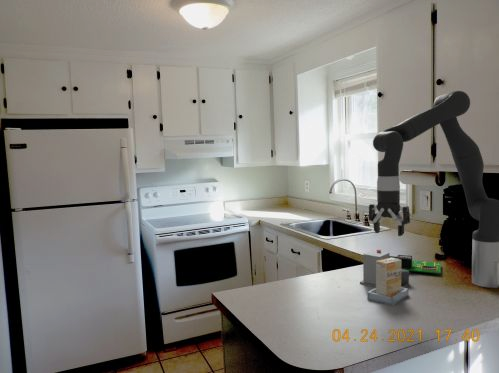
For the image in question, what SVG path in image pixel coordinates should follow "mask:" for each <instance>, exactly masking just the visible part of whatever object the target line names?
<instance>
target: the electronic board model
mask: <svg viewBox="0 0 499 373" xmlns="http://www.w3.org/2000/svg"><path fill="white" fill-rule="evenodd" d="M390 258H396V259H400V260H401V269H404V270H408V271H409V274H411V273H412V272H420V273H429V274H430V273H431V274H439V275H440V274H442V273H441V271H442V270H441V269H442V268H441V262H433V261H425V260H424V261H423V260H413V255H406V254H405V255H404V254H403V255H402V254H397V256H394V255H393V256H392V255H390Z"/></svg>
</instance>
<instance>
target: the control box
mask: <svg viewBox="0 0 499 373" xmlns="http://www.w3.org/2000/svg"><path fill="white" fill-rule="evenodd" d="M381 250H382V249H373V250H370V251H367V252H366V253H365V252H364V253H363V254H362V255H363V256H362V258H363V259H362V262H363V263H362V264H363V268H362V269H363V270H362V272H363V276H362V277H363V280H360V281H359V284H360V285H362V286H363V285H364V286H369V287H372V288H376V261H378V260H383V259H387V258H390V256H391V255H390V252H387V251H381Z"/></svg>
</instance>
